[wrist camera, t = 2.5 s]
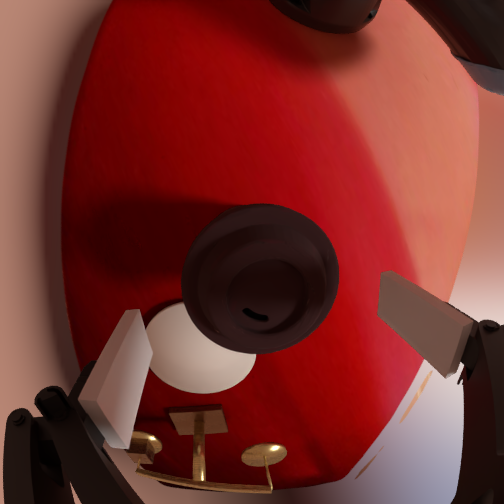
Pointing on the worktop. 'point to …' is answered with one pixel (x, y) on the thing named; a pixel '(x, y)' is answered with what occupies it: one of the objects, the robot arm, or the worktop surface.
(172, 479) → the balance
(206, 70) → the worktop surface
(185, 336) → the saucer
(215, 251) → the coffee cup
